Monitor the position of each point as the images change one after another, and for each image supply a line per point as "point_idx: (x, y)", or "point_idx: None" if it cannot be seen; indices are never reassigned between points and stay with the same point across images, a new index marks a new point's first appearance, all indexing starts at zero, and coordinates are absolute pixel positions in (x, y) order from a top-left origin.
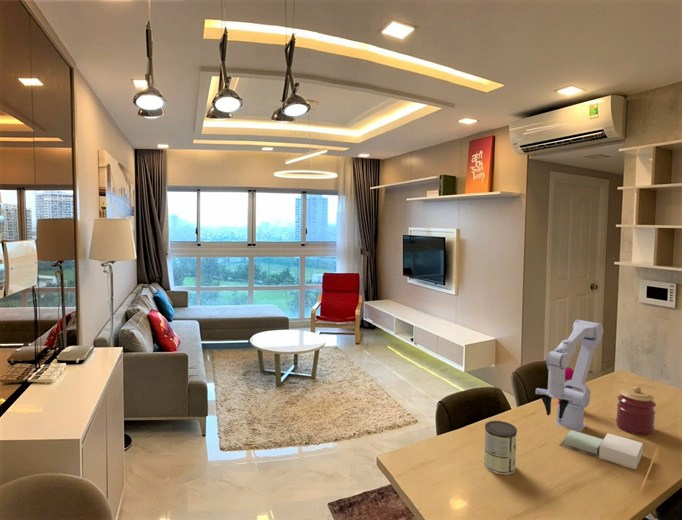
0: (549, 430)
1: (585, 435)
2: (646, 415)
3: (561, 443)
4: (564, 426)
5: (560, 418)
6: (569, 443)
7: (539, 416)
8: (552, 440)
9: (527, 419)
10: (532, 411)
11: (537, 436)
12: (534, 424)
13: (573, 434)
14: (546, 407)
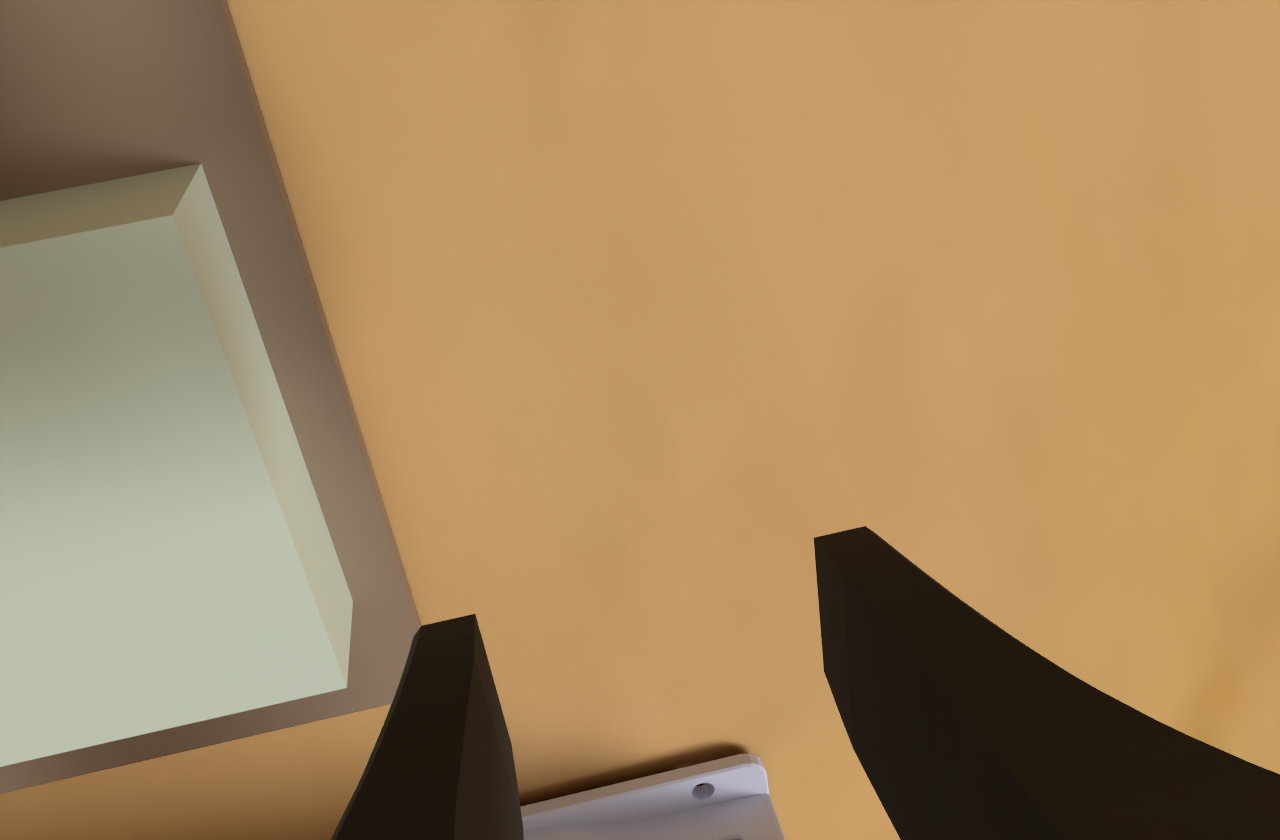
0: (749, 498)
1: (2, 711)
2: None
3: (250, 132)
4: (621, 791)
5: (430, 630)
6: (61, 201)
7: None
8: (497, 155)
9: (1200, 545)
10: None
11: (810, 52)
12: (1044, 482)
13: (178, 554)
14: (1010, 674)
